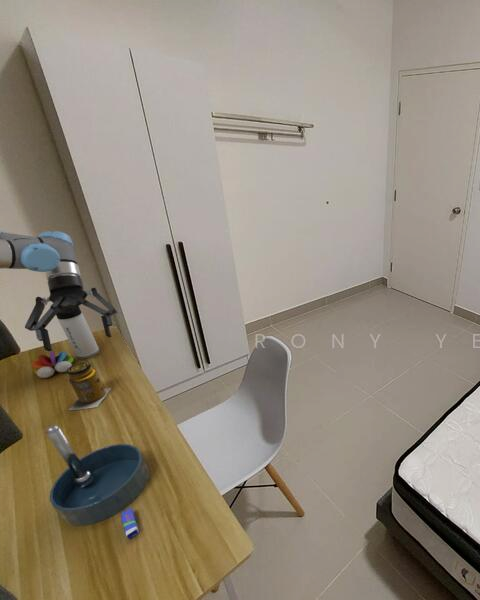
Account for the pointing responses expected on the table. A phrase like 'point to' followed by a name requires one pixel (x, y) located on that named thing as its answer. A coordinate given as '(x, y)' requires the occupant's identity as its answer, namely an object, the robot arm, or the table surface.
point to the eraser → (129, 523)
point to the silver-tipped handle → (70, 457)
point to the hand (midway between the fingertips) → (79, 342)
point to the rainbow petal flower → (52, 364)
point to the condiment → (86, 386)
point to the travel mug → (77, 332)
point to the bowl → (101, 485)
